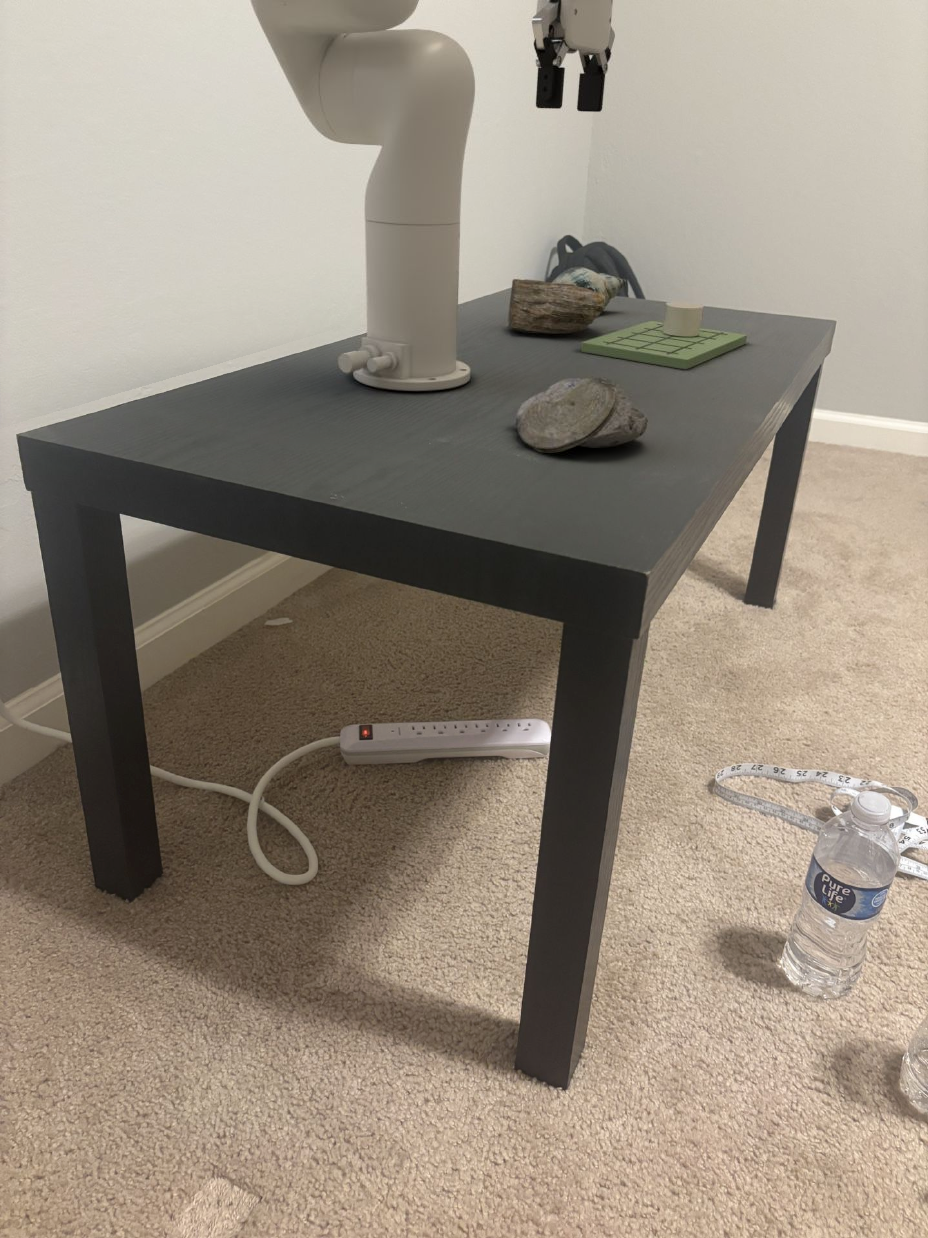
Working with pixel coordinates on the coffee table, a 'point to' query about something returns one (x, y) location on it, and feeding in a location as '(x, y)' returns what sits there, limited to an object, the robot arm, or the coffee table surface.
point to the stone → (552, 307)
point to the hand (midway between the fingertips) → (569, 109)
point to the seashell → (592, 281)
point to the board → (663, 345)
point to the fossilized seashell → (579, 416)
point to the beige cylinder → (682, 319)
